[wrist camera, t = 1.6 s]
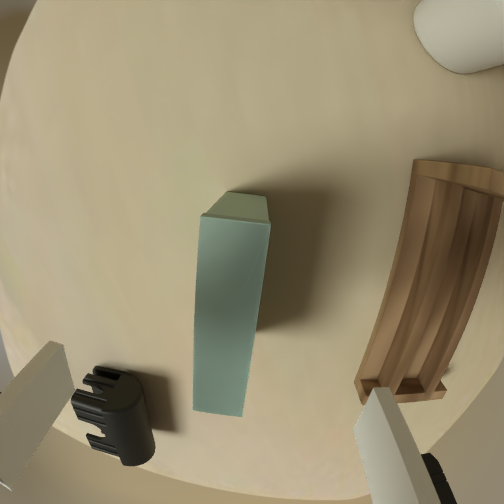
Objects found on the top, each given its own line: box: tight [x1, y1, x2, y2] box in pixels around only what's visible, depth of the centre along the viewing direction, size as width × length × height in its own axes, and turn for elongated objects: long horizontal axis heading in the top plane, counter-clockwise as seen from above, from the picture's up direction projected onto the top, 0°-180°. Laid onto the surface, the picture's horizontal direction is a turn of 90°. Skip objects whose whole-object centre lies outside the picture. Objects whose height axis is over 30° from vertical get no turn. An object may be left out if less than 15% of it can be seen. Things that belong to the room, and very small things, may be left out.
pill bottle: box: [413, 0, 504, 74], centre depth 10 cm, size 8×8×15 cm
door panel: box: [193, 192, 271, 417], centre depth 20 cm, size 3×12×10 cm, turn 173°
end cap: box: [71, 366, 156, 466], centre depth 27 cm, size 10×7×7 cm
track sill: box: [354, 160, 504, 405], centre depth 20 cm, size 10×22×10 cm, turn 173°
